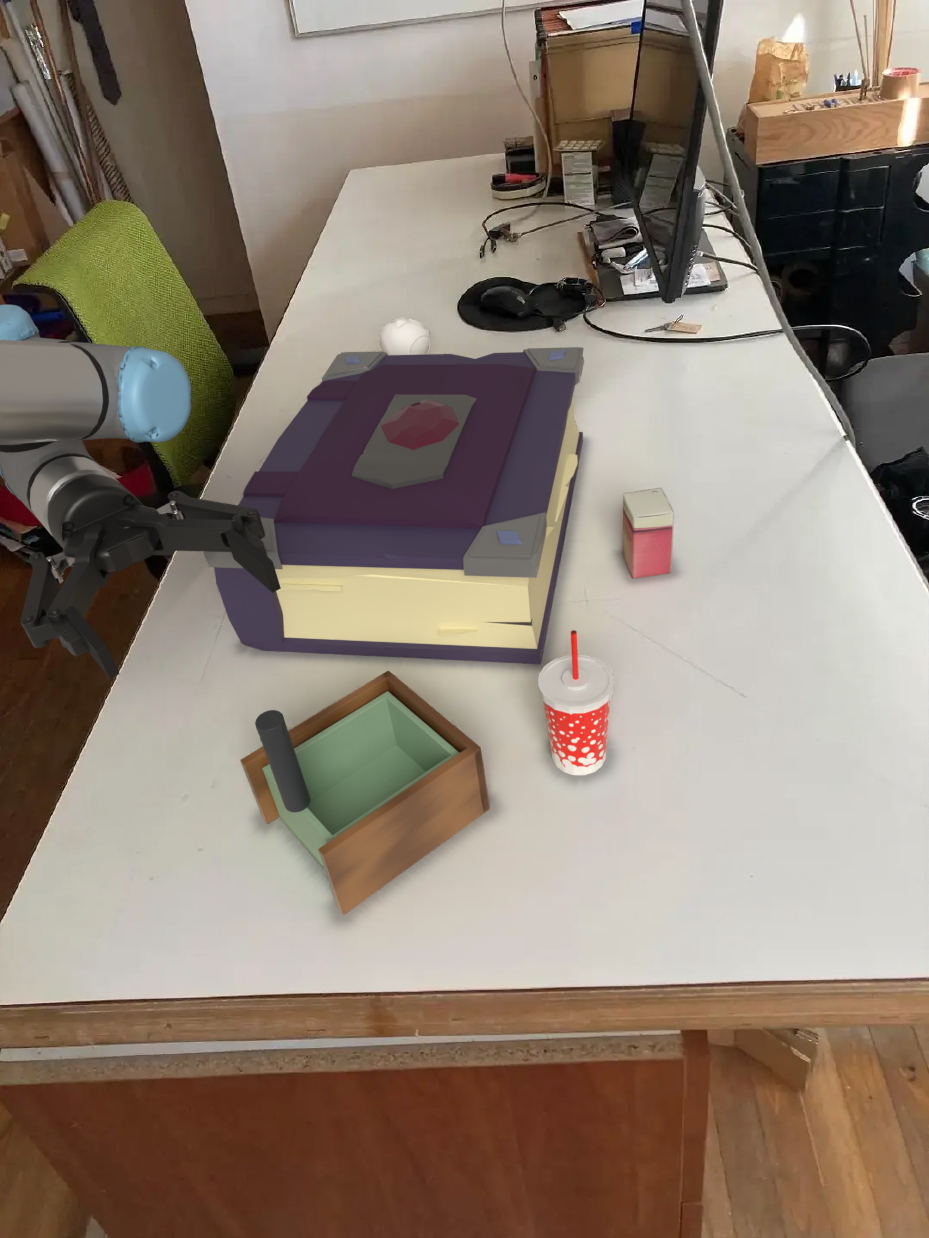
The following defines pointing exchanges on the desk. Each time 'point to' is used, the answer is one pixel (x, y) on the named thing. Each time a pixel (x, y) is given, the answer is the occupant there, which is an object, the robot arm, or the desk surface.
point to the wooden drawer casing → (402, 822)
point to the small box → (647, 532)
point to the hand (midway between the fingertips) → (194, 618)
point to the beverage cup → (577, 709)
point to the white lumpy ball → (405, 337)
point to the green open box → (347, 767)
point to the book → (415, 509)
